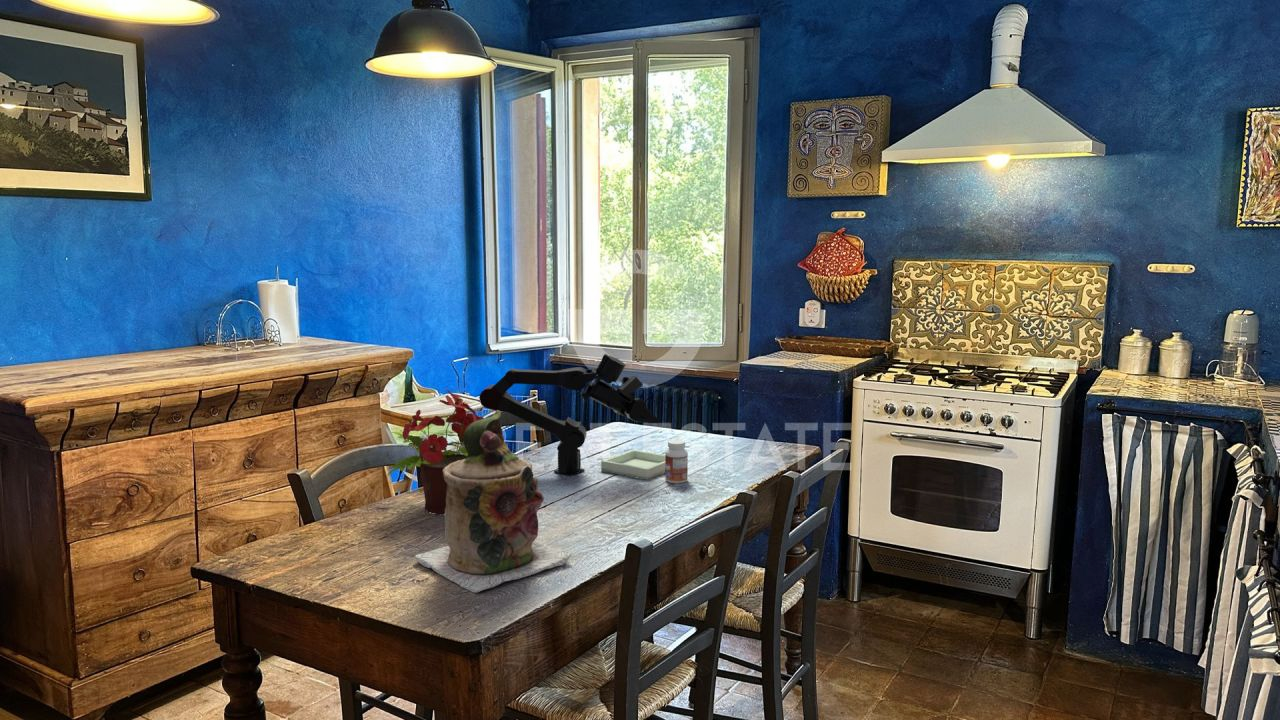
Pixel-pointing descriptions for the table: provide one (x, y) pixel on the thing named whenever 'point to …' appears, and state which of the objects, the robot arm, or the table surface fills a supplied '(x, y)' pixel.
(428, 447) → the potted plant
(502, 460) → the cookie jar
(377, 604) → the table surface
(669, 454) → the pill bottle
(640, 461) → the tray
